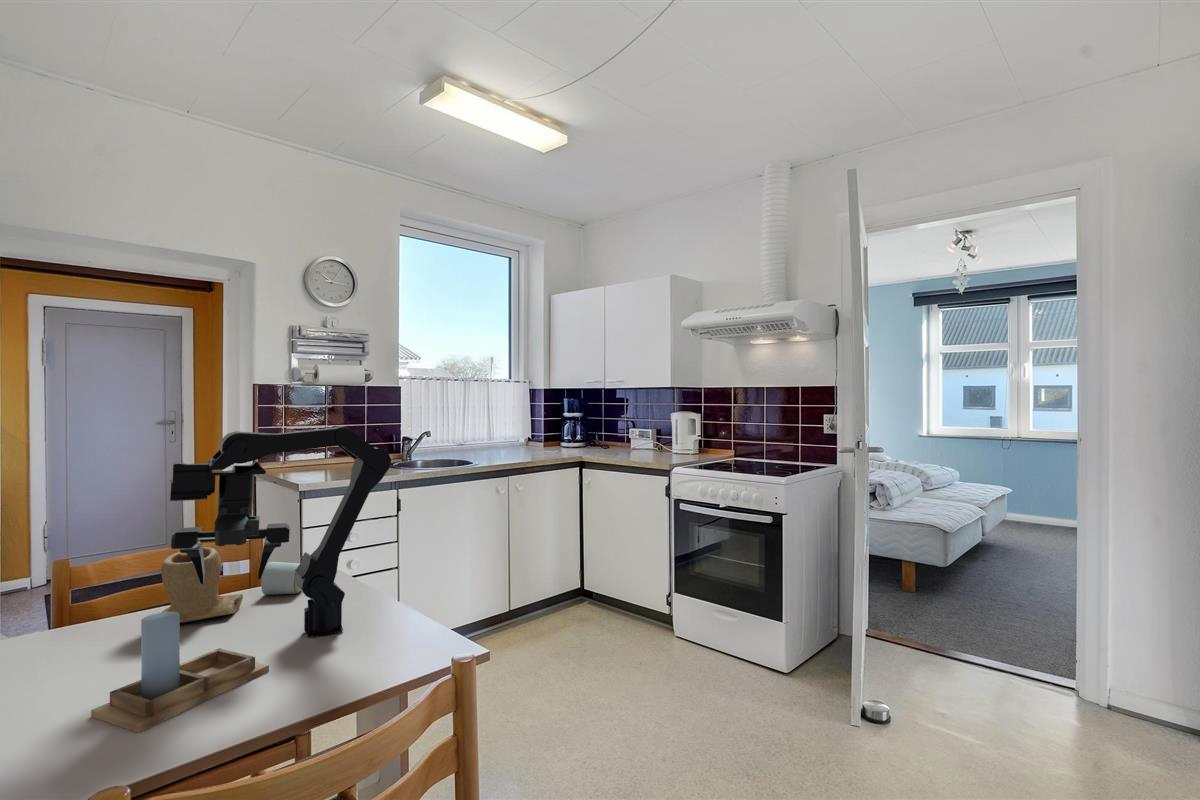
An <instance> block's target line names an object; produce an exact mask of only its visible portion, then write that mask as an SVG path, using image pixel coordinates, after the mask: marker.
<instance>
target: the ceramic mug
mask: <svg viewBox="0 0 1200 800" xmlns="http://www.w3.org/2000/svg"><path fill="white" fill-rule="evenodd" d="M299 565H300V563H298V562H285V561H284V562H283V561H269V562H267V564H266V566H265V569H264V571H263V574H262V577H261V579H260V580H261V582H260V584H261V585H260V587H261V592H262V593H263V595H266V596H267V595H269V596H270V595H271V596H272V595H273V596H274V595H276V596H277V595H294V594H298V593H300V592H302V591H301V589H300V588H299V587H298V585H297V583H296V575H297V573H296V571H295V569H296V568H298V566H299Z"/></svg>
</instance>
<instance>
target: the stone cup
mask: <svg viewBox="0 0 1200 800" xmlns="http://www.w3.org/2000/svg"><path fill="white" fill-rule="evenodd" d="M203 554H204V571H205V576H204V583H203V584H201V583H200V581H199V578H198V575H197V572H196V569H195V566H194V564H193V562H192V560H191V558H190V557H189V556H188V555H187V553H180V551H179V552H176V553H173V554H171V555H169V556H167V558H165V559H164V560H163V561H162V564H161V567H160V572H161V573H160V574H161V579H162V585H163V587H164V589H165V592H166V594H167V596H168V598H169V601H170V605H169V607H166V608H165V609H164V610H162V611H161V612H178V613H179V614H180V623H187V622H195V621H201V620H206V619H211V618H217V617H221V616H228V615H231V614H232V615H233V614H235V613H236V612H237V611H238V609H239V608H240V607H241V605H242V602H243V599H244V594H243V593H236V594H231V595H220V594H219V592H218V588H219V582H220V577H221V571H222V559H221V556H220V553H219V552H218V551H217V550H216V549H215V548H213V547H207V546H206V547H205V546H203Z"/></svg>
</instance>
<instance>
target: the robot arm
mask: <svg viewBox="0 0 1200 800" xmlns="http://www.w3.org/2000/svg"><path fill="white" fill-rule="evenodd" d="M330 447H339V449H341V450H342V451H343V452H344V453H346V455H348V456H349V457H351V458H352V459H353V460H354V461H353V464H352V467H351V471H350V473H351V474H350V480H349V485H348V486H347V489H346V491H345V492H344V495H343V496H342V499H341V501H340V502H339V505H338V507H337V509H336V511H335V513H334V515H333V516H332V519H331V521H330V523H329V525H328V527H327V529H326V531H325V533H324V536H323V537H322V539H321V542H320V543H319V544H318V547H317V548H316V549H314V551H313V552H312V553H311V554H310V553H307V552H304V553H303V555H302V557H301V561H300V563H299V564H300V565H299V566H298V568H296V569H295V571H296V573H297V575H296V583H297V585H298V587H299V588H300V589H301V591H300V592H302V594H304V596H306V597H307V598H309V599H307V605H306V606H307V607H304V610H303V631H304V633H306V636H307V638H315V637H321V636H322V637H323V636H327V634H328V635H333V633H334V634H339V633H338V632H340V633H343V632H344V629H343V625H342V623H343V619H342V617H343V614H342V613H343V610H342V609H343V608H342V607H343V600H344V598H345V595H346V593H345V591H343V590H342V589H341V588H340V587H339V585H337V583H336V582H335V579H336V576H337V573H338V565H339V559H340V554H341V552H342V550H343V549H344V546H345V544H346V542H347V540H348V538H349V536H350V533H351V532H352V530H353V528H354V526H355V523H356V521H357V519H358V517H359V515H360V513H361V511H362V509H363V507H364V505H365V504H366V503H365V502H366V501H367V498H368V497H369V495H370V492H371V491H372V490H373V489H374V488H375V487H376V486H377V485H378V484H379V483H380V482H381V481H382V480H383V478H384V477H385V476H386V474H387V473H388V471H389V470H390V468H391V464H392V459H391V456H390V453H389V452H388V451H386V450H385V449H383V448H380V447H376V446H373V445H372V444H370V443H369V442H367V441H366V440H364V438H361V437H360V436H359V435H357V433H355V432H353V430H352V429H350V428H349V427H347V426H344V425H343V426H341V425H337V426H335V427H328V428H319V429H318V428H317V429H308V430H300V431H299V430H297V431H290V432H279V433H278V432H277V433H270V432H269V433H267V432H255V431H254V432H253V431H240V430H239V431H238V430H237V431H231V432H229V433H226V434H225V436H224V437H222V438H221V440H220V443H219V449H218V450H217V451H216V453H214V455H213V456H212V457H210V458H209V459H208V461H207V462H206V463H184V462H174V463H173V464H172V469H171V470H172V472H171V479H170V480H169V502H184V501H185V502H186V501H189V502H190V501H207V500H208V496H212V495H214V494H215V490H216V476H218V488H217V489H218V490H217V491H218V492H217V493H218V495H217V504H216V505H217V508H216V510H217V511H216V519H215V521H214V530H212V531H211V530H209V531H203V530H202V527H201V526H197V527H196V526H194V527H193V526H191V527H179V528H178V529H177V530H176V531H175V532H174V533H173V534H172V536H171V539H170V540H171V545H170V548H171V550H178V549H179V552H180V553H187V555H188V556H189V557H190V558H191V560H192V562H193V564H194V566H195V569H196V572H197V575H198V578H199V581H200V583H201V584H203V583H204V576H205V571H204V554H203V547H204V543H206V542H207V543H209V542H214V545H215V546H217V547H225V546H232V545H236V546H243V545H245V544H246V543H247V540H260V539H264V543H263V548H262V553H261V557H260V558H261V559H260V561H259V562H260V563H259V567H258V568H259V569H258V571H257V572H258V574H257V577H258V578H257V579H258V580H262V574H263V571H264V569H265V566H266V565H267V564H268V561H269V559H270V557H271V556H272V553H273V551H274V550H275V549H276V548H280V547H282V543H283V544H286V543H289V542H290V533H291V532H290V530H291V526H290V525H289V524H288V523H287V522H285V523H284V522H283V523H281V522H280V523H267V525H266V528H260V516H259V515H253V505H254V502H253V501H254V485H255V475H266V474H267V470H266V469H265V468H263V467H261V464H260V463H259V462H258V461H257V460H260V459H263V458H266V457H269V456H272V455H275V454H278V453H289V452H295V451H304V450H313V449H321V448H330ZM249 462H252V463H250V464H247V463H249ZM234 464H237V465H234ZM239 464H241V465H239ZM242 464H245V465H242ZM231 466H232V469H229V470H225V469H228V468H229V467H231ZM342 631H343V632H342Z"/></svg>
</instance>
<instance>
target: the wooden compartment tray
mask: <svg viewBox="0 0 1200 800" xmlns="http://www.w3.org/2000/svg"><path fill="white" fill-rule="evenodd" d="M269 671H270V665H269V664H267V663H264V662H259V661H256V656H253V655H250V654H249V655H248V654H245V653H244V654H243V653H241V652H240V653H239V652H236V651H231V650H228V649H223V648H217V649H215V650H212V651H209V652H207V653H204V654H201V655H199V656H196V657H194V658H192V659H189V660H186V661H183V662H182V663H180V688H178V689H176V690H173V691H171V692H169V693H166V694H164V695H162V696H159V697H157V698H155V699H153V700H148V699H145V698H141V679H139V680H136V681H135V682H134V681H133V682H132V683H129V684H126V685H124V686H122V687H118V688H116V689H114V690H112V691H110V692H109V702H107V703H104V704H102V705H99V706H97V707H95V708H92V709H91V710H90V717H91V718H93V717H94V718H93V719H96V718H97V720H99V719H100V721H102V720H103V722H105V721H106V722H105V723H108V724H112V725H115V726H117V727H121V728H123V729H126V730H130V731H133V732H136V733H141V732H143V731H145V730H147V729H149V728H151V727H154V726H155V725H158V724H160V723H162V722H164V721H166V720H168V719H171V718H173V717H174V716H177V715H179V714H181V713H183V712H185V711H187V710H189V709H191V708H193V707H195V706H198V705H200V704H202V703H204V702H206V701H209V700H211V699H212V698H214V697H216V696H219V695H221V694H223V693H224V692H227V691H230V690H231V689H233V688H236V687H238V686H240V685H242V684H244V683H247V682H248V681H250V680H252V679H254V678H257V677H259V676H261V675H263V674H265V673H268V672H269Z"/></svg>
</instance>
